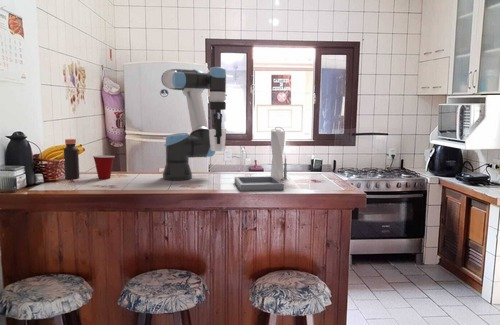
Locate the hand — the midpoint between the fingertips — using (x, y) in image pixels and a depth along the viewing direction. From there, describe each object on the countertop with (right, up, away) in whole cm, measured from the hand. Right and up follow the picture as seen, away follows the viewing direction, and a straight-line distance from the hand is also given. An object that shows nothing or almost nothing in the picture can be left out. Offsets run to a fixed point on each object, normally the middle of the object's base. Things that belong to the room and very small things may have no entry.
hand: (217, 149), depth 194 cm
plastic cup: (-60, -14, +18) cm, 64 cm away
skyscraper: (+30, -15, +22) cm, 40 cm away
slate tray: (+19, -17, +2) cm, 26 cm away
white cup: (0, -1, 0) cm, 0 cm away
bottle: (-76, -14, +16) cm, 79 cm away
